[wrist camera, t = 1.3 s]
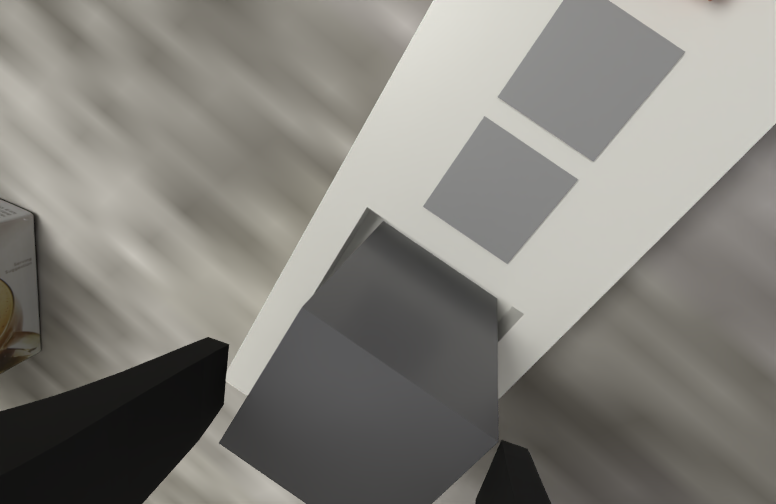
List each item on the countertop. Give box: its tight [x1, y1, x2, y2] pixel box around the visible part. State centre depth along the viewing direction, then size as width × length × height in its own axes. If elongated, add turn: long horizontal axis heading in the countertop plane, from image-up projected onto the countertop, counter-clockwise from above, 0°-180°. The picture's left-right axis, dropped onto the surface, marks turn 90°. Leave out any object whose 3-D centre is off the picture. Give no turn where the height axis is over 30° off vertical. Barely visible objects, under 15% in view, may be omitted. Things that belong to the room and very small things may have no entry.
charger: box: [219, 221, 498, 504], centre depth 13 cm, size 5×5×7 cm
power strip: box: [226, 0, 776, 400], centre depth 14 cm, size 9×22×3 cm, turn 149°
